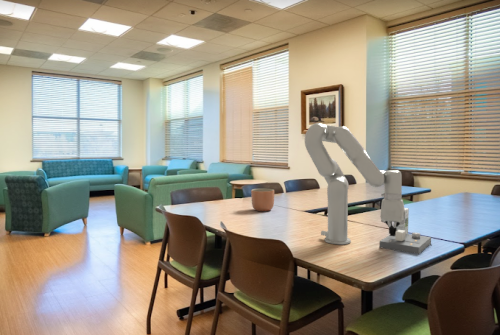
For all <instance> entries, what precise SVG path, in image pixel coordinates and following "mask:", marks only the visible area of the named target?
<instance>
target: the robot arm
mask: <svg viewBox="0 0 500 335" xmlns="http://www.w3.org/2000/svg"><path fill="white" fill-rule="evenodd" d="M323 142H327V143H332V144H333V143H334V144H337V146H338V147H339V148H340V150H341V151H342V152H343V153H344V154H345V156H346V157H347V159H348V160H349V161H350V162H351V164H352V165H353V166H354V167H355V168H356V169H357V170H358V172H359V173H360V174H361V175H362V177H363V178H364V179H365V181H366V182H367V183H368V184H369V186H371V187H373V188H378V187H381V186H382V185H384V186H383V188H384V189H383V190H384V191H383V192H384V193H381V195H380V196H381V198H382V197H383V199H382V200H381V206H380V222H382V223H384V224H385V225H387V227H388V234H389V235H390V236H395V235H396V231H397V226H399V225H402V224H405V221H404V220H405V209H404V208H405V204H404V199H403V198H402V195H403V194H402V190H403V189H402V188H403V187H402V185H403V184H402V182H403V181H402V180H403V179H402V178H403V177H402V172H401V171H400V170H393V169H392V170H380V169H379V168H378V167H377V165H376V164H375V163H374V161H373V160H372V159H371V158H370V156H369V154H368V152H367V151H366V149H365V148H364V147H363V145H362V144H361V143H360V141H359V140H358V139H357V138H356V137H355V135H354V133H352V132H351V130H350V129H349V128H347V126H335V125H330V124H329V125H328V124H323V123H320V122H316V123H313V124H311V125H310V126H309V128H308V129H307V130H306V132H305V135H304V146H305V150H306V151H307V153H308V156H309V157H310V159H311V161H312V163H313V164H314V166H315V168H316V170H317V172H318V174H319V175H320V177H323V178H324V180H325V181H326V183H327V186H326V187H327V193H326V194H327V231H326V230H321V231H320V236H325V237H324V242H326V243H327V244H331V245H347V244H350V243H351V242H352V239H351V238H349V237H348V231H349V230H348V225H349V224H348V221H349V220H348V216H349V215H348V213H349V212H348V210H349V208H348V205H349V204H348V203H349V202H348V201H349V199H348V196H349V195H348V194H349V185H350V184H349V182H348V179H347V178H346V176H345V174H344V172H343V171H342V169H341V167H340V165H339V164H338V161H336V160H335V159H334V158H332V157H331V156H330V154H329V152H328V150H327V148H326V147H325V145H324V143H323Z"/></svg>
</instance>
